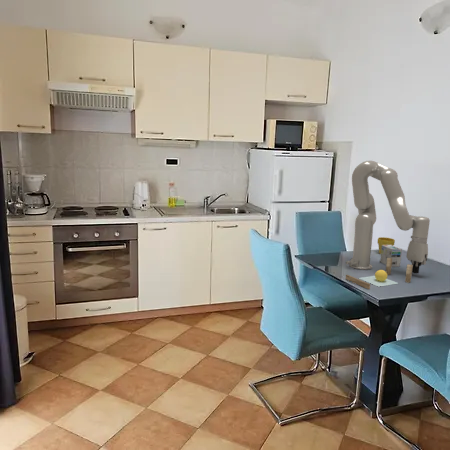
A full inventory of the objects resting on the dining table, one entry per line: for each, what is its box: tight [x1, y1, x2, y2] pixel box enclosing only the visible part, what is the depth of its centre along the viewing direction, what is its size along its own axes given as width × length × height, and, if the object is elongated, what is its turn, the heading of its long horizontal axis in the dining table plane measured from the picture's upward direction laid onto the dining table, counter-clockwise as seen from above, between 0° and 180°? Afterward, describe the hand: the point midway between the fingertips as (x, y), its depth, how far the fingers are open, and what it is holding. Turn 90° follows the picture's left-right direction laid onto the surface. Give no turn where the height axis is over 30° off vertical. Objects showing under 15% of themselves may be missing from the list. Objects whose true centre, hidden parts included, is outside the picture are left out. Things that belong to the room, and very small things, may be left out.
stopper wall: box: [345, 274, 371, 290], centre depth 207 cm, size 1×16×2 cm, turn 26°
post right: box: [404, 263, 413, 284], centre depth 213 cm, size 3×3×9 cm
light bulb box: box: [379, 245, 403, 268], centre depth 245 cm, size 11×7×11 cm, turn 13°
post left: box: [385, 258, 392, 276], centre depth 225 cm, size 3×3×9 cm
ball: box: [374, 269, 388, 282], centre depth 213 cm, size 6×6×6 cm
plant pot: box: [377, 236, 396, 255], centre depth 270 cm, size 10×10×10 cm
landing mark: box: [358, 275, 399, 288], centre depth 214 cm, size 14×14×1 cm
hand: (415, 272), depth 225 cm, fingers closed
